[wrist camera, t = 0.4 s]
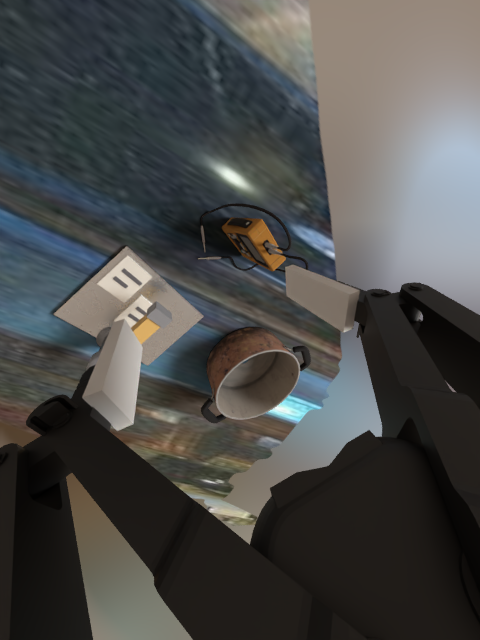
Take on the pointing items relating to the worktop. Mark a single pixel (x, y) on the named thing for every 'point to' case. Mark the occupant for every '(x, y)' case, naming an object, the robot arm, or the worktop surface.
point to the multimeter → (254, 240)
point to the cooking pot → (251, 374)
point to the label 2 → (135, 311)
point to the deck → (102, 307)
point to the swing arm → (145, 326)
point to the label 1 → (125, 279)
